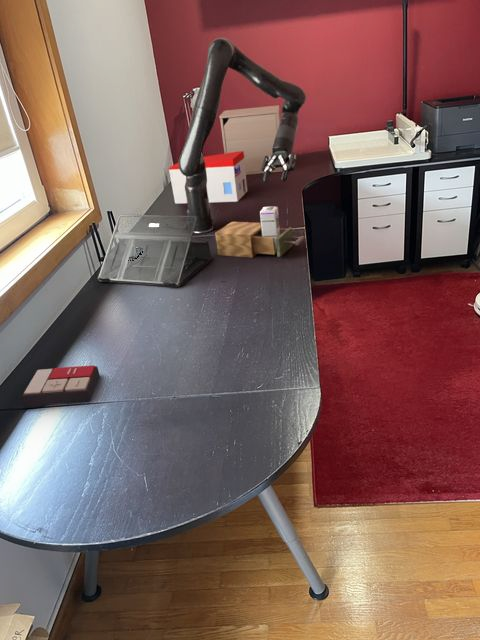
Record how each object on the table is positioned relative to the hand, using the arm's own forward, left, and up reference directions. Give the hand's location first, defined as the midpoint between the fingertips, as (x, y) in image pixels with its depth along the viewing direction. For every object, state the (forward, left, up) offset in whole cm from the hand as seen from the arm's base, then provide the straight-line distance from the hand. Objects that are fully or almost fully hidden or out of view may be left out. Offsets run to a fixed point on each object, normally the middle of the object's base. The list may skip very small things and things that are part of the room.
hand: (274, 181), depth 191 cm
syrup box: (+3, -13, -21) cm, 25 cm away
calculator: (-9, -111, -23) cm, 114 cm away
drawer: (+5, -13, -22) cm, 26 cm away
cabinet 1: (-71, +125, -23) cm, 145 cm away
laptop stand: (-33, -39, -23) cm, 56 cm away
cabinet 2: (-10, -13, -23) cm, 28 cm away
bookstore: (-65, +58, -23) cm, 90 cm away
